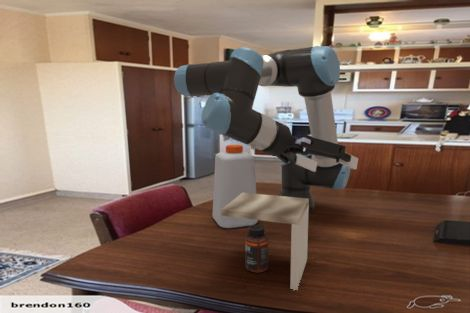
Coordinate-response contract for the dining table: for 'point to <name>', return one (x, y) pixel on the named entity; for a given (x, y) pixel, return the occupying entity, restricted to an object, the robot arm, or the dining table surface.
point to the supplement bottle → (256, 249)
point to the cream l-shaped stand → (282, 212)
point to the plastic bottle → (232, 183)
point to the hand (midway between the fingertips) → (334, 165)
